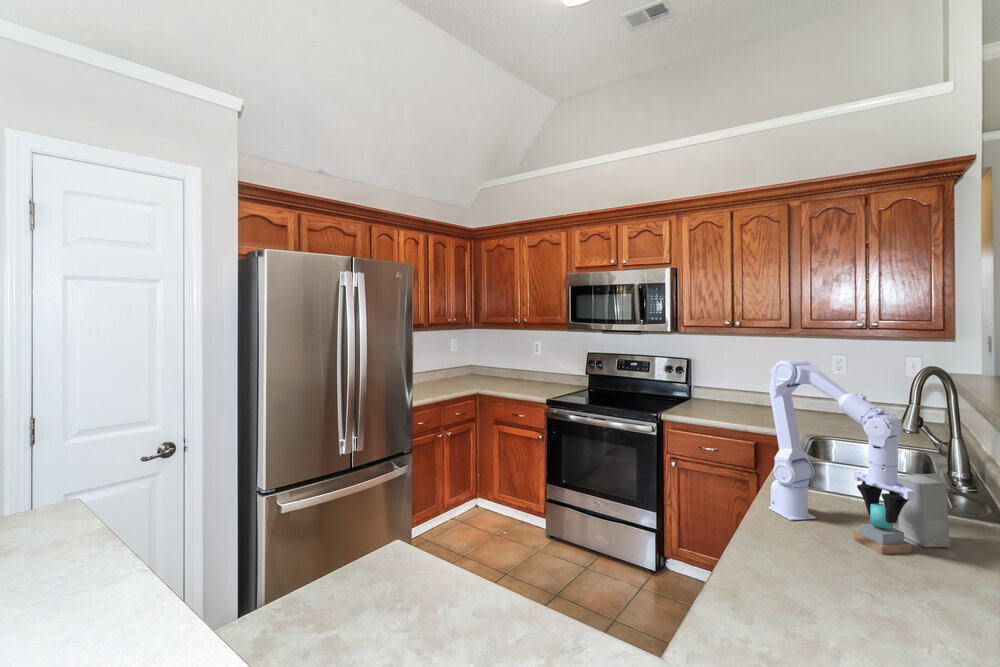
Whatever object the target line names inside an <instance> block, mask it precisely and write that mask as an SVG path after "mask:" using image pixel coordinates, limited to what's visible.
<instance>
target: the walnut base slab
mask: <svg viewBox="0 0 1000 667" xmlns="http://www.w3.org/2000/svg"><path fill="white" fill-rule="evenodd" d="M852 533H853V538H852V540H853V541H854V542H857V543H859V544H860V545H862V546H865V547H866V548H868V549H871V550H872V551H873V552H876V553H878V554H880V555H882V556H885V555H895V554H905V553H906V554H907V553H912V548H913V546H912V545H913V544H912V543H911V542H907V541H905V540H904V543H897V544H887V545H882V544H880V543H878V542H875V541H873V540H871V539H869V538H867V537H865V536H863V535H861V534H860V531H853V532H852Z"/></svg>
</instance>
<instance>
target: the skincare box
mask: <svg viewBox="0 0 1000 667" xmlns="http://www.w3.org/2000/svg"><path fill="white" fill-rule="evenodd" d="M898 483H899V484H901V485H903V486H905V487H907V488H909V489H911V490H913V491H915V499H909V500H908V501H907V502H906V504H905V505H904V506H903V508H902V510H901V512H900V514H899V517H898V519H897V521H898V522H897V523H898V530H899V531H902V532H904V538H906V539H908V540H910V541H912V542H914V543H916V544H918V545H919V546H921V547H924V548H950V546H951V537H950V522H949V510H948V495H947V493H948V492H947V483H946V482H943V481H940V480H937V479H933V478H931V477H928V476H925V475H923V474H900V475H899V474H898Z"/></svg>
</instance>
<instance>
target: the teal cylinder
mask: <svg viewBox="0 0 1000 667" xmlns="http://www.w3.org/2000/svg"><path fill="white" fill-rule="evenodd" d="M869 519H870V523H871V524H872V525H874V526H877V527H880V528H888V529H889V528H894V523H887V521H886V510H885V504H884V503H880V502H879V503H872V504H871V507H870V516H869ZM870 523H869V524H870Z"/></svg>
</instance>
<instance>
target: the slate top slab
mask: <svg viewBox="0 0 1000 667" xmlns="http://www.w3.org/2000/svg"><path fill="white" fill-rule="evenodd" d="M859 528H860V529H859V532H860V534H861V535H863V536H865V537H867V538H869V539H871V540H873V541H875V542H878V543H880V544H882V545H887V544H897V543H904V541H905V537H904V532H902V531H899V529H897V528H895V527H893V528H889V529H888V528H880V527H877V526H874V525H872V524H871V523H861V524H860V525H859Z"/></svg>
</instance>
